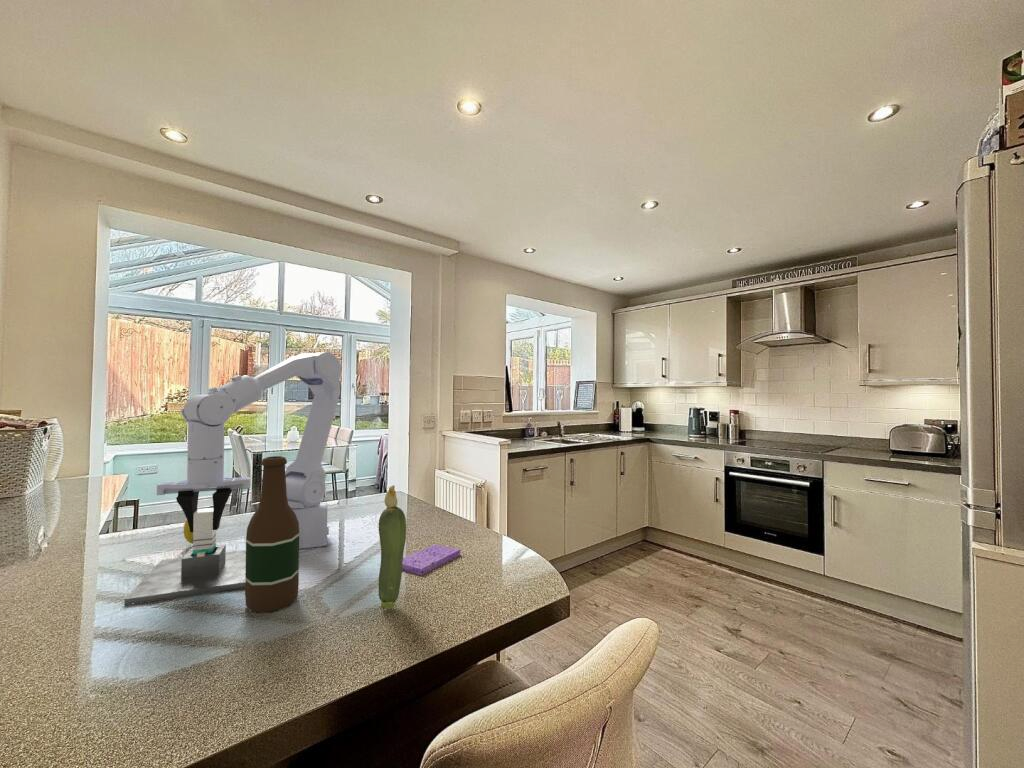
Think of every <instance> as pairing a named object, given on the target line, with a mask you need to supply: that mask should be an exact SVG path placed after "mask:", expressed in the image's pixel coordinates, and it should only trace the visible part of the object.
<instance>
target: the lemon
mask: <svg viewBox="0 0 1024 768" xmlns="http://www.w3.org/2000/svg"><path fill="white" fill-rule="evenodd" d="M183 535H184V538H185V540H186V542H188V543H189V544H192V545H193V532H190V528H189V524H188V521H187V519H186V520H185V523H184V526H183Z"/></svg>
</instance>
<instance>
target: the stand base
mask: <svg viewBox="0 0 1024 768" xmlns="http://www.w3.org/2000/svg"><path fill="white" fill-rule="evenodd" d="M192 553H193V547H192V548H191V547H190V548H189V549H188V551H187V552H186V553H185V554H184V555H183V557H177V558H166V559H161V560H160V561H159V562H158V563H157V564H156V566H154V568H153V569H152V570H151V571H149V573H148V574H146V576H145V577H144V578H143V579H142V580H141V582H139V583H138V584H137V585H136V586H135V588H134V589H133V590H131V592H130V593H129V594H128V595H127V596H126V597H125V598H124V606H128V605H127V604H131V605H133V604H132V603H138V604H141V603H140V602H144V603H148V602H147V601H151V602H156V601H157V602H158V601H164V600H172V599H179V598H185V596H186V597H190V596H191V597H193V596H198V595H205V594H206V595H207V594H213V593H219V592H226V591H232V590H238V589H239V590H240V589H245V573H246V549H244V550H236V551H228V552H226V544H218V545H217V544H216V550H215V551H214V552H213V554H206V551H203V552H198V553H197V555H196V556H192ZM178 597H179V598H178ZM171 598H172V599H171Z"/></svg>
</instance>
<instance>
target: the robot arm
mask: <svg viewBox="0 0 1024 768" xmlns="http://www.w3.org/2000/svg"><path fill="white" fill-rule="evenodd" d="M342 369H343V366H342V364H341V362H340V361H339V359H338V357H337V356H336V355H335V354H334V353H332V352H330V351H323V352H315V353H314V352H313V353H311V352H310V353H307V352H306V353H304V352H303V353H302V352H301V353H299V354H296V355H294V356H290V357H289V358H287V359H285V360H284V361H281V362H279V363H278V364H276V365H274V366H272V367H270V368H269V369H267V370H265V371H263V372H261V373H259V374H258V375H255V376H254V377H252V376H250V375H245V374H244V375H242V376H241V375H239V374H237V375H233V376H232V377H231V379H230V380H231V381H229V382H227V383H225V384H222V385H220V386H219V387H216V386H212V387H210V388H208V390H207V391H208V392H207V394H196V395H193V396H191V397H190V398H188V399H187V402H185V404H184V407H183V408H181V410H180V411H181V415H182V418H183V419H184V420H185V421H186V423H187V454H186V455H187V458H186V459H187V466H186V467H187V469H186V471H187V472H186V473H187V474H186V480H178V481H177V480H176V481H168V482H160V483H158V484H156V496H165V495H168V494H169V495H170V494H172V495H173V494H177V496H176V497H175V498H176V499H175V500H176V502H177V504H178V505H179V506H180V509H181V510H182V513H183V514H184V516H185V519H186V520H187V521H188V524H189V528H190V532H193V520H194V512H196V511H197V510H198V506H199V505H198V504H199V494H200V492H201V493H202V492H211V491H214V492H213V493H212V505H213V506H212V508H213V510H214V515H213V530H216V531H217V530H218V529H219V528H220V525H221V519H222V515H223V512H224V510H225V508H226V504H227V503H228V501H229V499H230V496H231V495H232V492H233V490H240V489H242V490H249V489H250V488H251V477H247V476H246V477H225V475H224V473H225V471H224V468H225V423H226V422H227V421H228V420H230V418H231V415H233V414H234V413H236V412H238V411H240V410H242V409H243V408H246V407H248V406H250V405H252V404H254V403H256V402H257V401H259V400H260V399H261V398H262V395H263V392H264V391H266V390H268V389H269V388H272V387H274V386H277V385H279V384H280V383H283V382H285V381H288V380H289V379H292V378H294V377H297V378H298V379H299V380H300V381H301V382H303V384H304V385H306V386H307V388H309V389H310V391H311V392H312V394H313V398H312V403H311V405H310V406H311V407H310V409H309V412H308V416H307V421H306V422H305V426H304V430H303V433H302V437H301V440H300V444H299V448H298V451H297V455H296V458H295V460H294V461H292V463H290V464H289V465H288V466H287V467H286V468H285V474H286V492H287V500H288V505H289V506H290V507H291V509H292V510H293V511H294V513H295V514H296V517H297V520H298V522H299V550H301V549H309V548H310V549H311V548H318V547H326V546H327V545H328V536H329V534H330V526H328V502H321V501H322V500H323V499H324V497H325V495H326V492H327V491H326V490H327V487H326V477H327V472H326V470H325V469H324V467H323V466H322V461H323V458H324V454H325V450H326V448H327V447H326V446H327V442H328V439H329V435H330V432H331V429H332V425H333V421H334V418H335V417H334V416H335V414H336V411H337V410H336V409H337V407H338V403H339V399H340V395H341V381H340V378H341V373H342Z"/></svg>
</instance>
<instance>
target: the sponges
mask: <svg viewBox="0 0 1024 768" xmlns="http://www.w3.org/2000/svg"><path fill="white" fill-rule="evenodd" d="M460 554H461V549H460V548H455V547H451V546H449V547H448V546H444V545H441V544H436V543H434V544H433V545H430V546H428V547H426V548H424V549H421V550H419V551H416V552H414V553H411V554H409V555H407V556H406V555H405V556H404V557H403V562H402V571H404V572H407V573H411V574H415V575H419V576H422V575H424V574H427V573H428V572H430V571H432V570H435V569H436V568H439V566H441V565H444V564H446V563H447V562H449V561H451V560H453V559H455V558H457V557H459V556H460Z"/></svg>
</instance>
